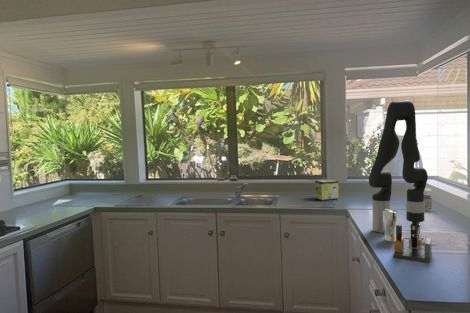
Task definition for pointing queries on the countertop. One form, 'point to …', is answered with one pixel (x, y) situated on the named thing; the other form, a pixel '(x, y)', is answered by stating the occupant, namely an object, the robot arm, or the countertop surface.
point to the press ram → (399, 240)
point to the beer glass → (390, 224)
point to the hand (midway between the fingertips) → (415, 244)
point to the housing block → (419, 242)
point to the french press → (426, 198)
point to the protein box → (326, 190)
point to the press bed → (416, 253)
